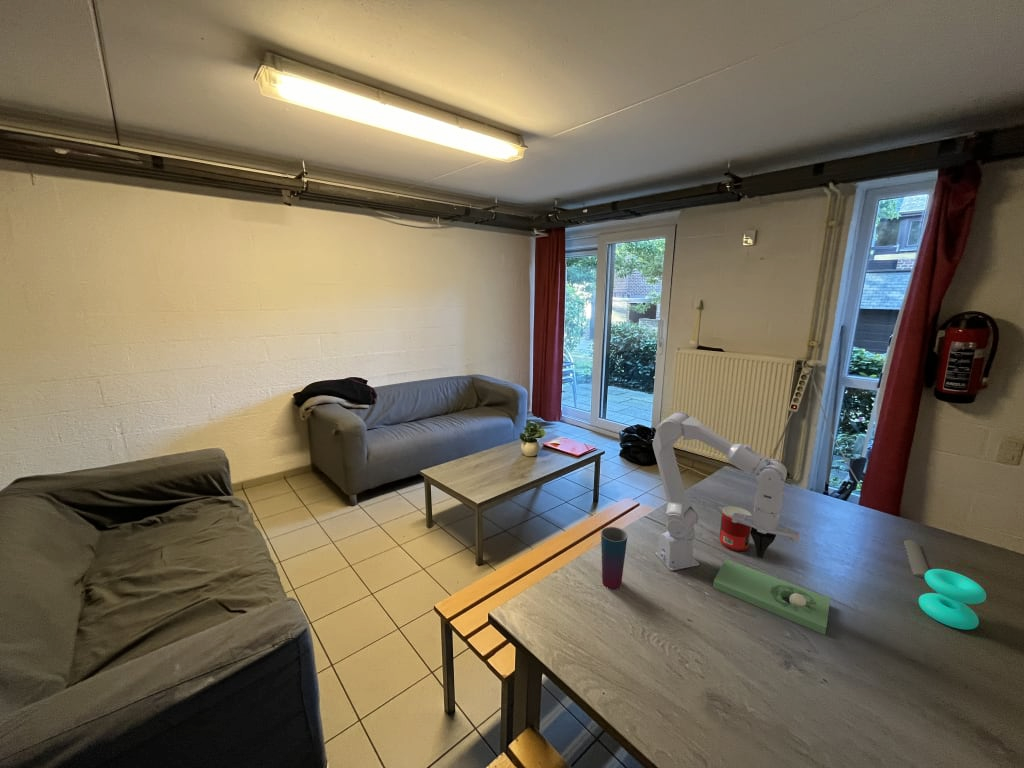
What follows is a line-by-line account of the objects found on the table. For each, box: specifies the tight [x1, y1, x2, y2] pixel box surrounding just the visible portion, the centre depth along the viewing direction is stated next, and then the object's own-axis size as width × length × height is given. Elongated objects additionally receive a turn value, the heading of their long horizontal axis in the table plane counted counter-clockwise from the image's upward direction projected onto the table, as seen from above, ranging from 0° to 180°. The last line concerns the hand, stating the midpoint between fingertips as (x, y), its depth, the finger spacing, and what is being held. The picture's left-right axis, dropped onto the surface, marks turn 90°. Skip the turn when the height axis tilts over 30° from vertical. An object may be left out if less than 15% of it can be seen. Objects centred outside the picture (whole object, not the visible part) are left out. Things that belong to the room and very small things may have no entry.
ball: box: [788, 593, 806, 607], centre depth 101 cm, size 4×4×4 cm
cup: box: [600, 526, 628, 590], centre depth 109 cm, size 7×7×15 cm
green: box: [712, 558, 831, 636], centre depth 105 cm, size 24×12×2 cm, turn 49°
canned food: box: [719, 505, 753, 552], centre depth 125 cm, size 8×8×11 cm
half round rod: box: [903, 539, 930, 579], centre depth 118 cm, size 4×20×2 cm, turn 143°
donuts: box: [918, 568, 987, 631], centre depth 97 cm, size 10×10×10 cm
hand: (760, 555), depth 105 cm, fingers closed
